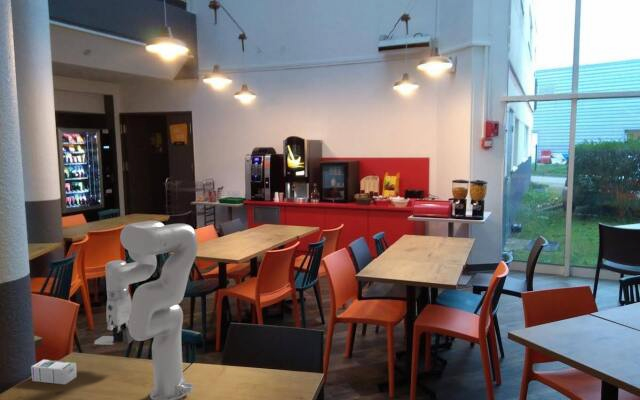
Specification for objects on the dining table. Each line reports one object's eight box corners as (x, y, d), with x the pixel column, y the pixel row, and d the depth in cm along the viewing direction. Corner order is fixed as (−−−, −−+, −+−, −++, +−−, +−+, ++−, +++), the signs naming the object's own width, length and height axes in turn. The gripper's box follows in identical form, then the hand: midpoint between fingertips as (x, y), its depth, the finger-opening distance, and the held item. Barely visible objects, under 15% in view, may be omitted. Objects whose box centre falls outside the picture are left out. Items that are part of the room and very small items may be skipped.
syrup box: (64, 369, 165) (30, 365, 168) (66, 385, 165) (31, 381, 168) (76, 362, 170) (42, 358, 173) (77, 377, 171) (43, 373, 174)
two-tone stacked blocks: (134, 339, 179) (133, 327, 178) (126, 345, 174) (125, 332, 173) (103, 338, 182) (101, 326, 181) (94, 344, 177) (92, 331, 177)
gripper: (112, 301, 166) (115, 350, 168) (139, 287, 182) (142, 332, 184) (94, 299, 168) (97, 348, 170) (122, 286, 184) (125, 330, 186)
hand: (120, 339), depth 177 cm, fingers closed on two-tone stacked blocks, 3 cm apart
